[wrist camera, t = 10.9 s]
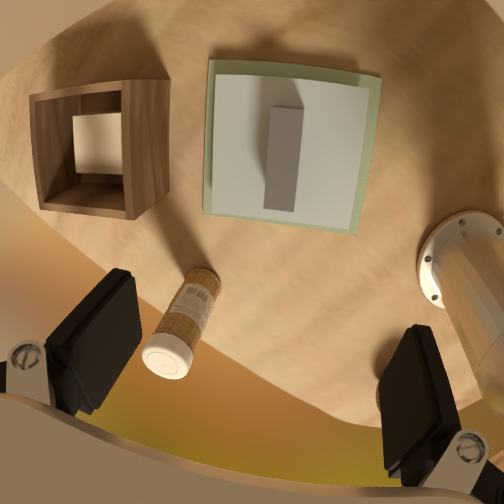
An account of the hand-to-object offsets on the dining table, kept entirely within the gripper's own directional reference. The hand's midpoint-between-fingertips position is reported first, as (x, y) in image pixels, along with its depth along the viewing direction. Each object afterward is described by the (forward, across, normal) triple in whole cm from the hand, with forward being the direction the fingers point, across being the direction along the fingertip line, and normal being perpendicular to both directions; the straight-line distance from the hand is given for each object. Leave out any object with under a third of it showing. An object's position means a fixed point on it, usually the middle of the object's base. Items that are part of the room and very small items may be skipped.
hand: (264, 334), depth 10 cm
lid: (+22, +1, -2) cm, 23 cm away
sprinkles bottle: (+23, +9, +15) cm, 29 cm away
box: (+22, +20, -2) cm, 30 cm away
